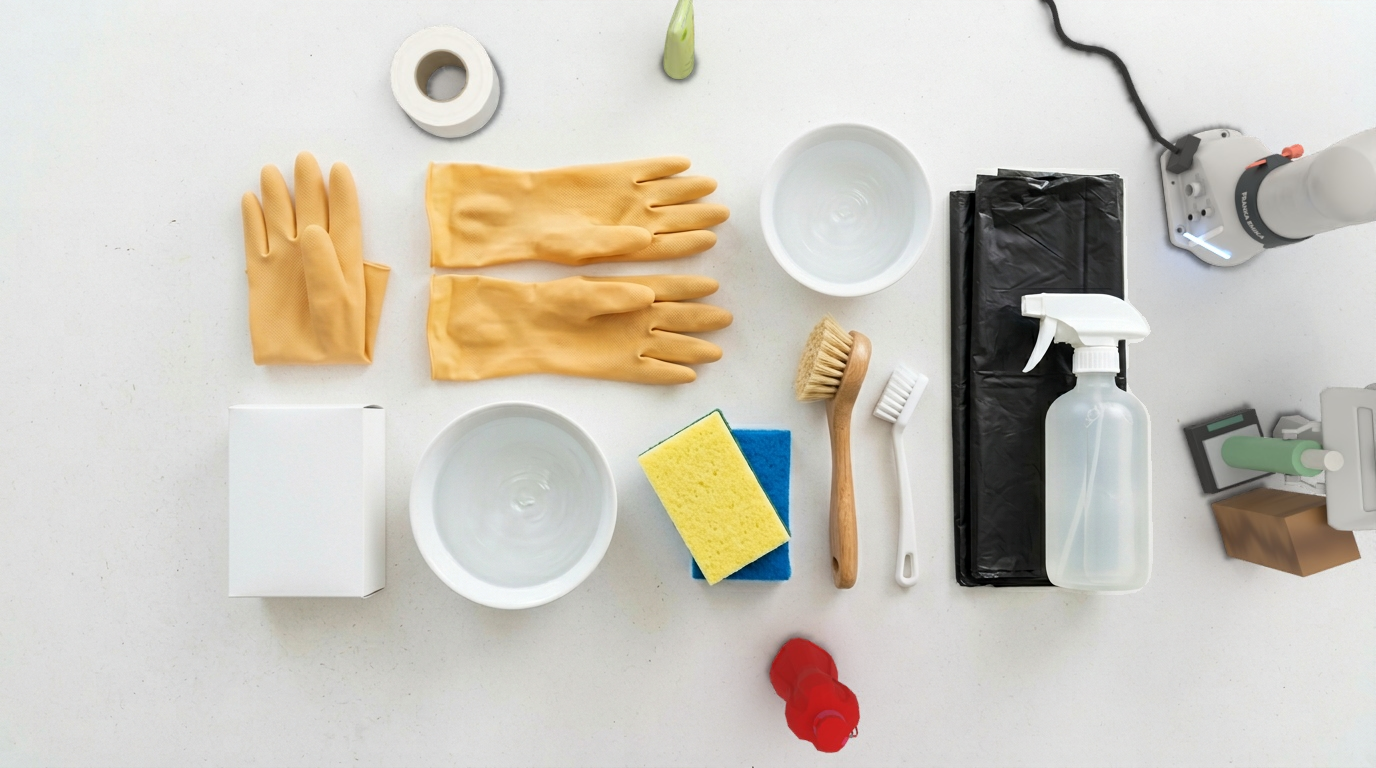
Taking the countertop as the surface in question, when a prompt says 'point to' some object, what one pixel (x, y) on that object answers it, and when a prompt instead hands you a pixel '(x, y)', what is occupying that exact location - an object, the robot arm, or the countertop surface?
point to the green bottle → (1280, 455)
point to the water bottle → (814, 696)
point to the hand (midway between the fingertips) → (1283, 457)
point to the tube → (680, 41)
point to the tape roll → (427, 56)
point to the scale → (1209, 443)
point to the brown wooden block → (1283, 531)
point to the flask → (1295, 423)
